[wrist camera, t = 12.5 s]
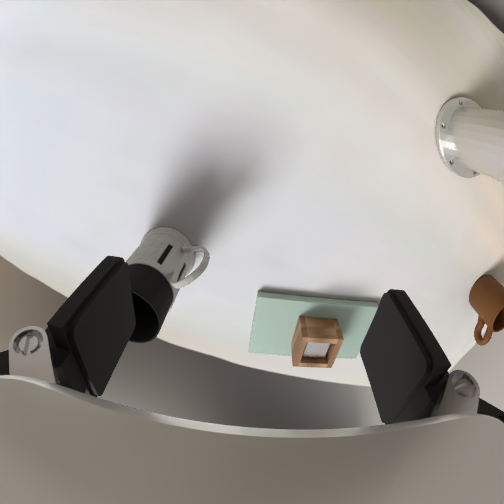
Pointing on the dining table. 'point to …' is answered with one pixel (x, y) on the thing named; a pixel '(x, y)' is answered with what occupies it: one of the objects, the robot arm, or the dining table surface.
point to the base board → (292, 306)
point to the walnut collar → (316, 340)
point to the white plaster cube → (315, 349)
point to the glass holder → (160, 277)
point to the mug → (487, 307)
